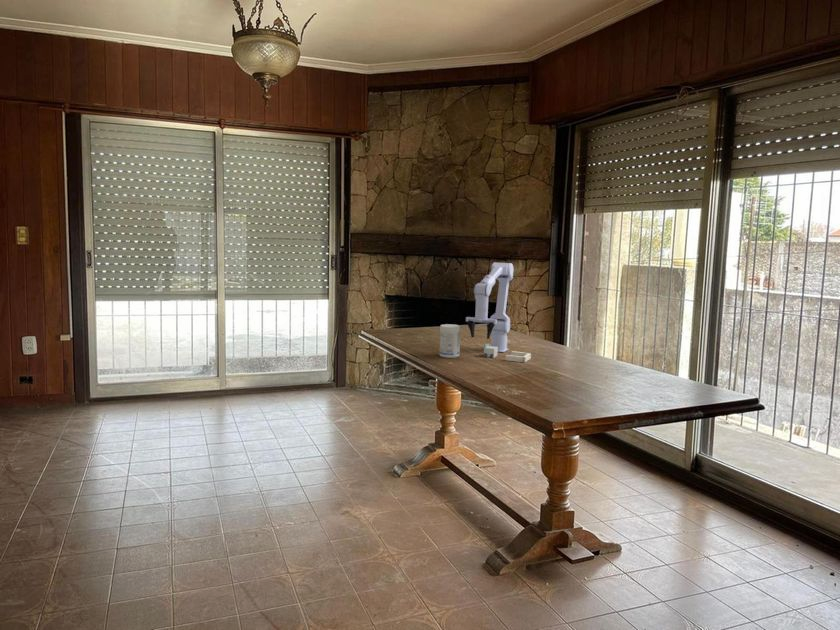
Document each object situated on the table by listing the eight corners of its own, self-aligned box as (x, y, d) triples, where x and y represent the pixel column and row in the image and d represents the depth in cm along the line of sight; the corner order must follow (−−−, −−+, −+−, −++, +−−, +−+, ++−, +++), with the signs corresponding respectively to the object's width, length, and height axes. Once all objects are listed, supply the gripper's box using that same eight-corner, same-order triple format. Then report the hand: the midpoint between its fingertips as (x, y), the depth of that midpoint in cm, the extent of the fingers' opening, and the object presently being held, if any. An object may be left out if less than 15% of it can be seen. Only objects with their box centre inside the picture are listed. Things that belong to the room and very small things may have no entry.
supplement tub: (450, 353, 308) (451, 323, 306) (463, 356, 300) (464, 326, 299) (434, 355, 302) (435, 324, 300) (448, 359, 294) (449, 327, 292)
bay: (511, 356, 306) (512, 351, 306) (530, 358, 302) (531, 353, 302) (505, 360, 296) (505, 355, 295) (524, 362, 292) (525, 357, 292)
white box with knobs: (487, 354, 309) (488, 343, 308) (497, 355, 307) (498, 344, 306) (483, 357, 302) (483, 345, 301) (493, 358, 300) (493, 346, 299)
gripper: (464, 308, 295) (463, 337, 297) (494, 311, 289) (492, 340, 291) (469, 307, 302) (467, 335, 303) (498, 309, 296) (497, 338, 298)
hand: (480, 337), depth 298 cm, fingers open, 7 cm apart
